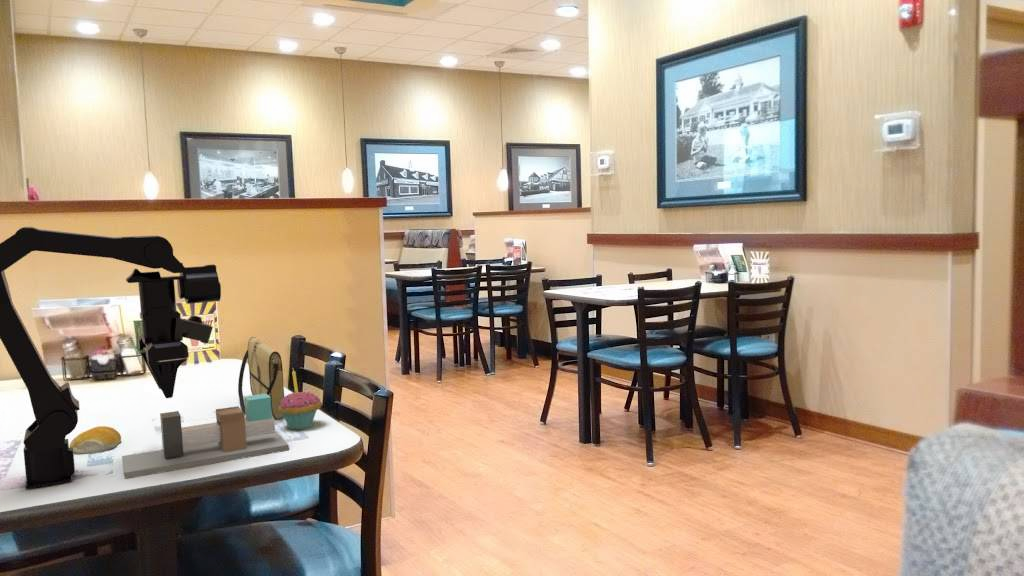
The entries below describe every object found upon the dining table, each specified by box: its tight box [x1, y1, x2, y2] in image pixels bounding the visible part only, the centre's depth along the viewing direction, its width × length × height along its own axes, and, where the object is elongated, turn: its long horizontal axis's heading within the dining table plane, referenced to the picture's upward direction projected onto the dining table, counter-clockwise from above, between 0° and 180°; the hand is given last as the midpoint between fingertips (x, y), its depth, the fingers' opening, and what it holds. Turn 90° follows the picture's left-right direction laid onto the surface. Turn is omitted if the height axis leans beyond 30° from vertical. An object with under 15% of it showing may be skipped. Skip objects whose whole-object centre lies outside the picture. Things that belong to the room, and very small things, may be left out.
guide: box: [121, 406, 290, 479], centre depth 136 cm, size 27×11×8 cm, turn 119°
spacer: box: [243, 394, 273, 422], centre depth 141 cm, size 4×4×4 cm
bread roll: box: [69, 425, 122, 455], centre depth 145 cm, size 8×9×4 cm
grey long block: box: [159, 410, 276, 458], centre depth 137 cm, size 19×4×7 cm, turn 119°
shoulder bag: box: [237, 336, 285, 421], centre depth 170 cm, size 30×7×15 cm, turn 29°
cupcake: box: [278, 367, 322, 430], centre depth 154 cm, size 9×8×12 cm
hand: (165, 393), depth 134 cm, fingers open, 9 cm apart
